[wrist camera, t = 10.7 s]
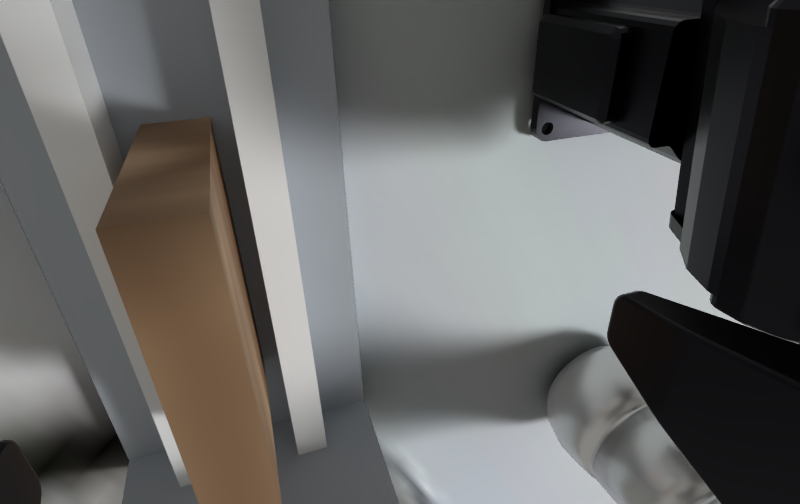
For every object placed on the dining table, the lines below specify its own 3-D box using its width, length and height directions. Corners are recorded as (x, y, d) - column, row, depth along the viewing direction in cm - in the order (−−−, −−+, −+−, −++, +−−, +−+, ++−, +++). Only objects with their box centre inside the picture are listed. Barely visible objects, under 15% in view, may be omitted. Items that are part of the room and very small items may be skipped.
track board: (315, -71, 15) (397, -90, 8) (361, 408, 25) (413, 569, 19) (-91, -63, 12) (-430, -81, 6) (143, 465, 23) (114, 674, 16)
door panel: (210, 117, 16) (209, 212, 10) (264, 361, 21) (284, 519, 15) (140, 124, 15) (95, 229, 9) (212, 373, 20) (212, 540, 14)
